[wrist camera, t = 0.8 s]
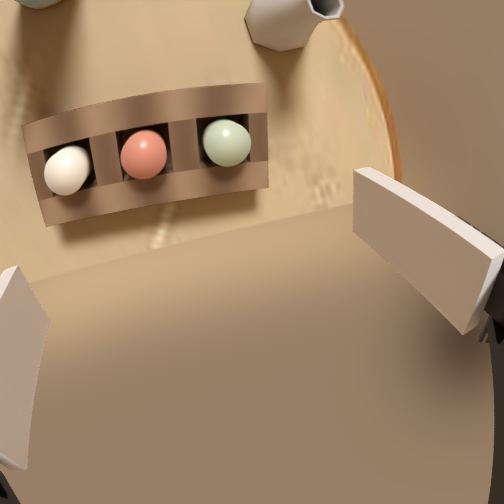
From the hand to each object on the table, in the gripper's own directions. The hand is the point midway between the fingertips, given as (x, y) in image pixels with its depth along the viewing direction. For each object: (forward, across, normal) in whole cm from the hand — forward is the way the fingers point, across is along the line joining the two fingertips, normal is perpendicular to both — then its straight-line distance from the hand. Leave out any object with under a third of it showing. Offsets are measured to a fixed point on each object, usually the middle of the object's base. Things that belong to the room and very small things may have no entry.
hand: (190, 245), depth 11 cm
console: (+22, -2, 0) cm, 22 cm away
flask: (+22, +13, +10) cm, 28 cm away
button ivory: (+20, -9, +1) cm, 21 cm away
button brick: (+19, -2, 0) cm, 19 cm away
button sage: (+19, +5, -1) cm, 20 cm away
